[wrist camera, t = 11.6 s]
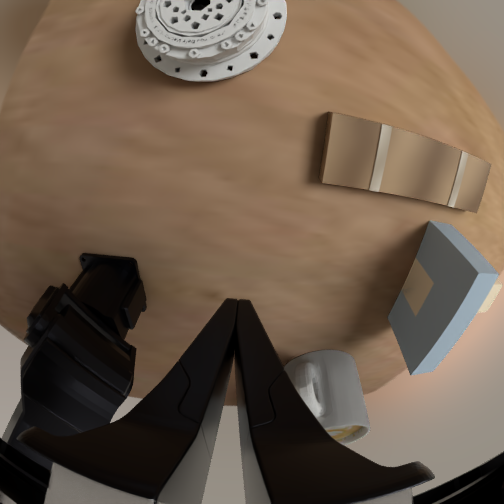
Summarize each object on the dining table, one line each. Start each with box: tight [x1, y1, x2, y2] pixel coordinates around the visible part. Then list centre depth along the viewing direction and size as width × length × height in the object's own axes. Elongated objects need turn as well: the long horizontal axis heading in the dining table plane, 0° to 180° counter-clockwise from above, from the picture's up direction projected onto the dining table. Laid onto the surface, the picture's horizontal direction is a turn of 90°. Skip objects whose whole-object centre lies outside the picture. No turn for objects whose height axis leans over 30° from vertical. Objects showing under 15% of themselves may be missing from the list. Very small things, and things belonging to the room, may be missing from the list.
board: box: [319, 112, 491, 213], centre depth 17 cm, size 16×5×1 cm, turn 86°
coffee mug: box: [284, 350, 370, 445], centre depth 27 cm, size 13×10×10 cm
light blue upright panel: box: [387, 221, 503, 375], centre depth 20 cm, size 12×12×8 cm
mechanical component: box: [135, 0, 287, 82], centre depth 11 cm, size 10×4×10 cm
